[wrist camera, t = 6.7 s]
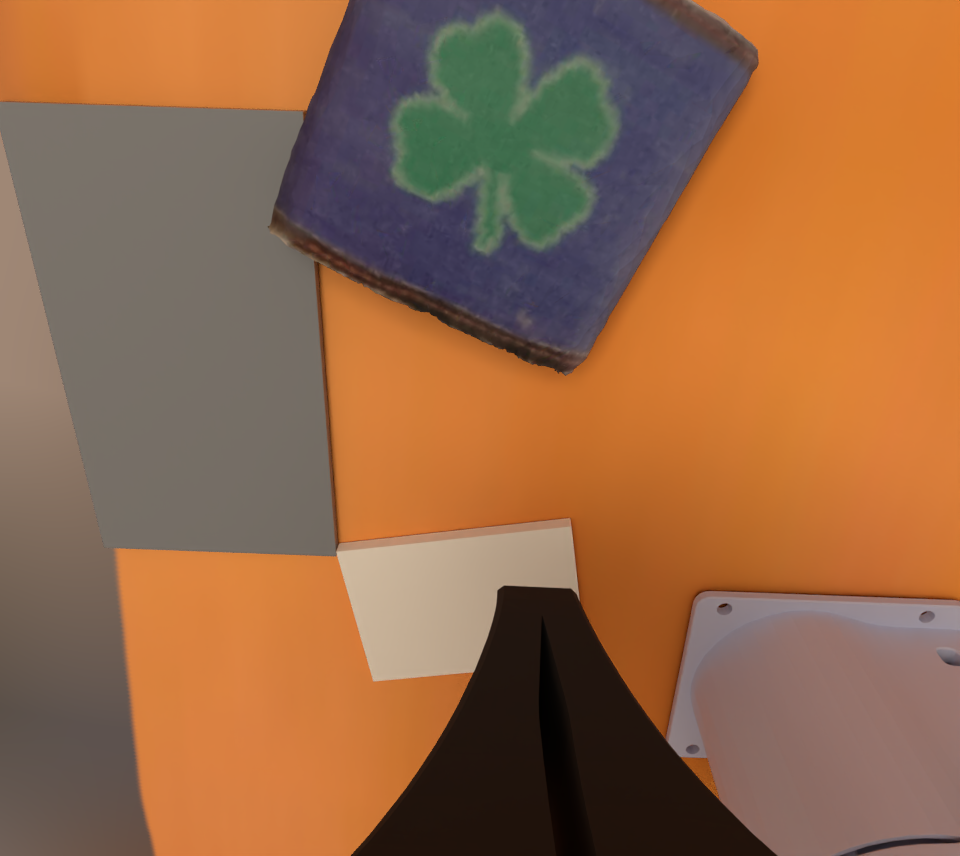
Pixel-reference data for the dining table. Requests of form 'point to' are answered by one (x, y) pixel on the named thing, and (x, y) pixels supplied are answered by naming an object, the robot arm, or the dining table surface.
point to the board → (180, 322)
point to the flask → (507, 156)
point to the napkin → (446, 591)
